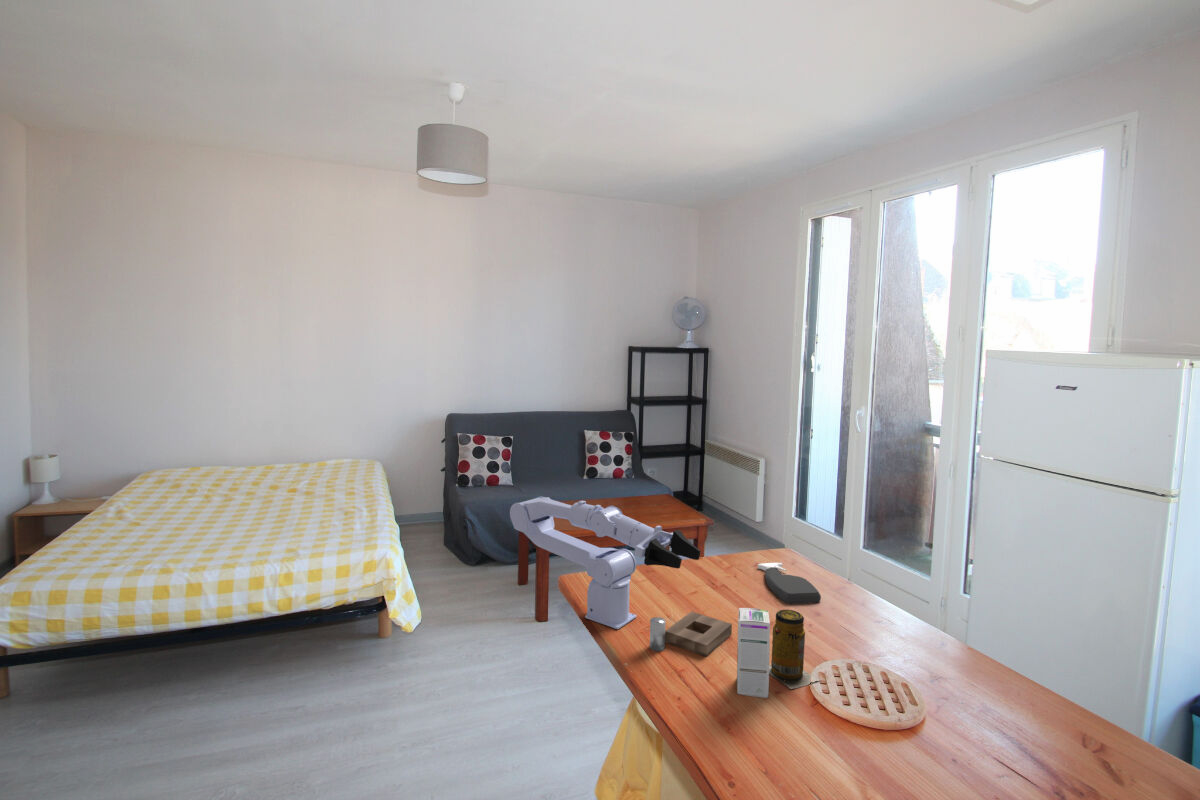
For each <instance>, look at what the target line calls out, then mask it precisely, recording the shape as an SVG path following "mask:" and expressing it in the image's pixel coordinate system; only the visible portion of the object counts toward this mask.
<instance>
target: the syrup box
mask: <svg viewBox="0 0 1200 800" xmlns="http://www.w3.org/2000/svg"><path fill="white" fill-rule="evenodd" d="M769 613H770V611H769V610H767V609H761V608H752V607H739V608H738V617H737V619H738V620H737V654H736V655H737V657H736V658H737V659H736V661H737V664H736V666H737V667H736V689H737V690H736V693H737V695H741V696H749V697H754V698H755V697H756V698H763V699H768V698H769V689H770V688H769V683H770V674H769V665H770V655H771V654H770V645H771V644H770V643H771V641H770V640H771V639H770V636H771V632H770V631H771V624H770V623H771V621H770V614H769Z"/></svg>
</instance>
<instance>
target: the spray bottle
mask: <svg viewBox="0 0 1200 800" xmlns="http://www.w3.org/2000/svg"><path fill="white" fill-rule="evenodd" d="M757 569H759V570H763V571H764V576H765V577H764V578H765V582H766V584H767V587H769V588H768V589H770V590H771V592H772V593H773V594H774V595H775V596H776V597H778V598H779V599H780V600H781V601H783V602H784V603H785V604H789V605H798V604H801V605H802V604H817V603H820V601H821V598H822V596H821V593H820V592H819V591H818V589H817V588H816V587H815V586H814V585H813V584H812V583H811V582H810V581H808V579H806V578H804V577H801V576H798V575H791V574H782V572H780V571H783V572H787V569H785V568H783V562H767V563H766V562H765V563H758V564H757Z"/></svg>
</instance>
